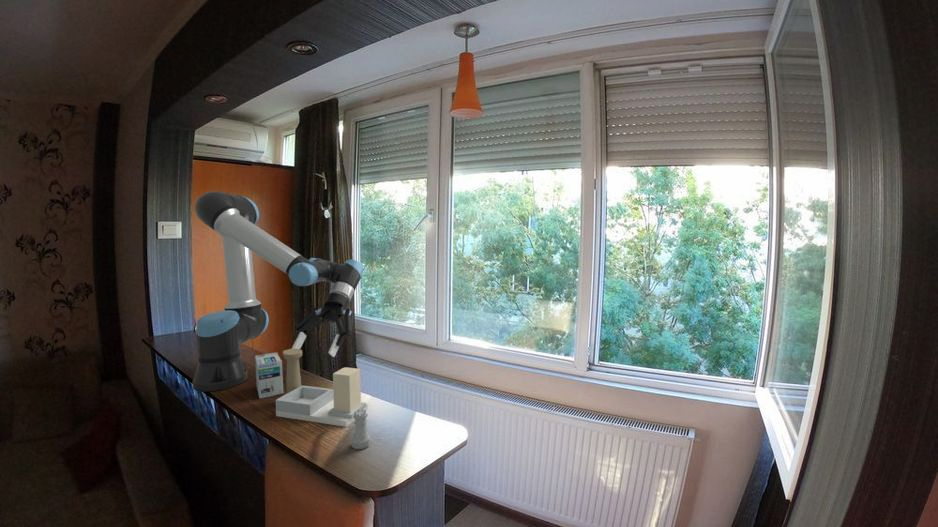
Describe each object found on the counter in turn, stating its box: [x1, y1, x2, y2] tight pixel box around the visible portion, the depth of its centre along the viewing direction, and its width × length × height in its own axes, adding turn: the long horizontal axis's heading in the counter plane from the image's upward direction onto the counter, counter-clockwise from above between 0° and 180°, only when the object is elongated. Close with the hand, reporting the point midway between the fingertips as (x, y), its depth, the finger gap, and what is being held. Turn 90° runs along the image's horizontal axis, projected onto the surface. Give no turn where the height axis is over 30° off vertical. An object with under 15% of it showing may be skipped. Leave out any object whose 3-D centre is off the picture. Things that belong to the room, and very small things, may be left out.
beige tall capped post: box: [282, 348, 303, 394], centre depth 105 cm, size 5×6×15 cm
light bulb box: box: [254, 352, 284, 399], centre depth 112 cm, size 11×7×11 cm, turn 36°
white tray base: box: [275, 366, 368, 428], centre depth 98 cm, size 22×10×12 cm, turn 75°
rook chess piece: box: [350, 409, 372, 450], centre depth 82 cm, size 4×4×8 cm
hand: (312, 353), depth 110 cm, fingers open, 13 cm apart
